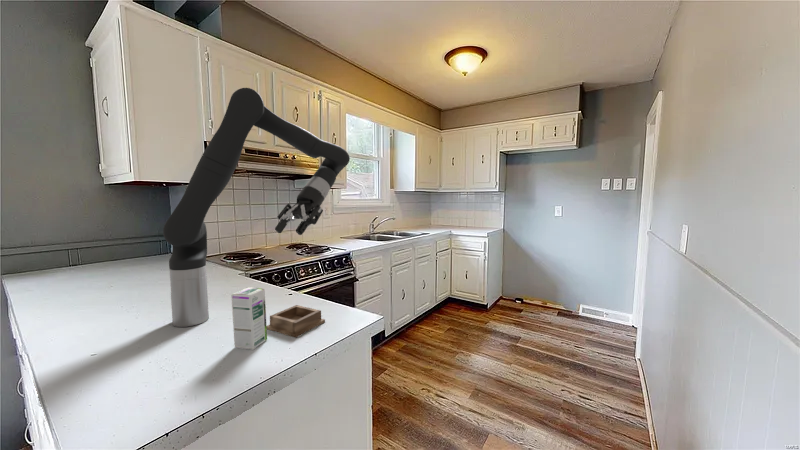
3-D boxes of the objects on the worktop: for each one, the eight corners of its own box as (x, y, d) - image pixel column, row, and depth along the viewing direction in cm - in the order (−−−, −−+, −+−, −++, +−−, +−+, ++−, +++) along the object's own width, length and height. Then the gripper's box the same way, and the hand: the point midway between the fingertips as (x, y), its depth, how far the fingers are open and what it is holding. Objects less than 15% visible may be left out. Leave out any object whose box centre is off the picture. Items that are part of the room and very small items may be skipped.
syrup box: (253, 350, 77) (251, 294, 76) (233, 347, 78) (230, 293, 77) (267, 339, 83) (265, 288, 81) (248, 337, 84) (246, 286, 83)
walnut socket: (265, 328, 89) (265, 316, 89) (296, 314, 100) (296, 303, 100) (295, 337, 84) (295, 324, 84) (325, 321, 95) (324, 310, 94)
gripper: (291, 185, 99) (263, 223, 90) (325, 184, 93) (298, 225, 84) (303, 201, 105) (278, 238, 96) (336, 201, 98) (312, 241, 89)
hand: (287, 232), depth 90 cm, fingers open, 8 cm apart
